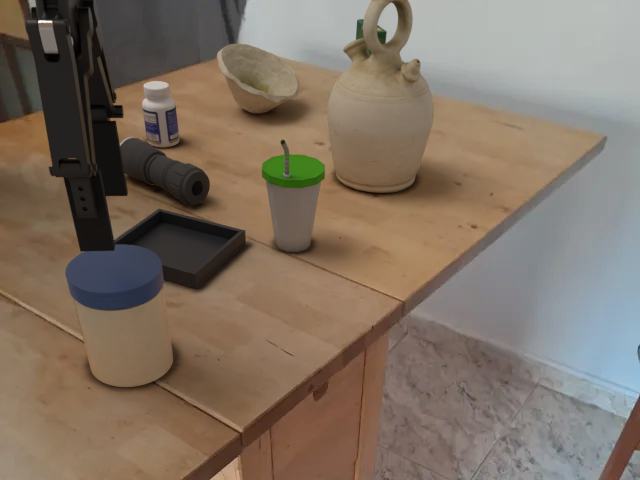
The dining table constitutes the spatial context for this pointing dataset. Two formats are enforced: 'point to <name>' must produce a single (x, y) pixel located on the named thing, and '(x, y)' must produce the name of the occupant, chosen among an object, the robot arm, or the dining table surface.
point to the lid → (115, 277)
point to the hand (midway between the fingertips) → (105, 219)
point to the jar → (127, 342)
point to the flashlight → (164, 171)
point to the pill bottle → (160, 115)
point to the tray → (185, 245)
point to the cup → (293, 197)
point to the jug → (380, 109)
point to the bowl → (257, 77)
